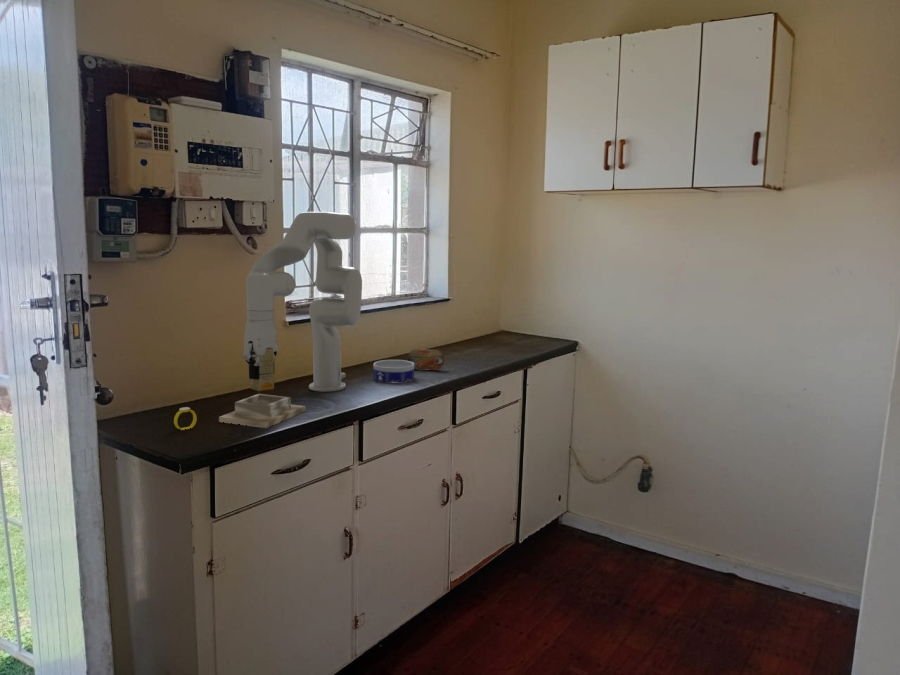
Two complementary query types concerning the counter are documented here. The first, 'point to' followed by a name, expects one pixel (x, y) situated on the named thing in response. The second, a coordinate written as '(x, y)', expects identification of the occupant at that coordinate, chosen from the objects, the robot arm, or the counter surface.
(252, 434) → the counter surface
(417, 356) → the food package
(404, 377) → the dog bowl
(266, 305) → the robot arm
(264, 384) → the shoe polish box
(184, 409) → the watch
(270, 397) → the socket board
